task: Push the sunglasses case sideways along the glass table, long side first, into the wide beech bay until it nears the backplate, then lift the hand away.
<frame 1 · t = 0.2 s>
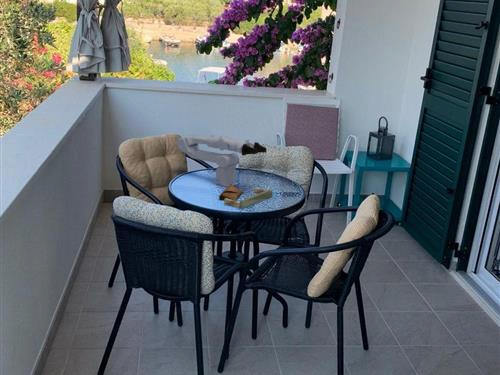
hand: (261, 151, 273), 21 cm above the table, tool horizontal, fingers open, 7 cm apart
sunglasses case: (231, 197, 272), on the table
dock: (247, 200, 267), on the table
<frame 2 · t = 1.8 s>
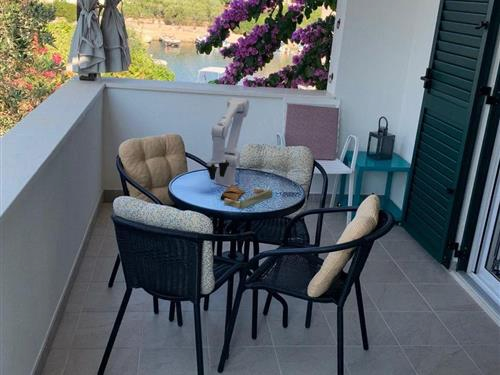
hand: (217, 178, 274), 7 cm above the table, tool pointing down, fingers open, 7 cm apart
nothing on the table moved.
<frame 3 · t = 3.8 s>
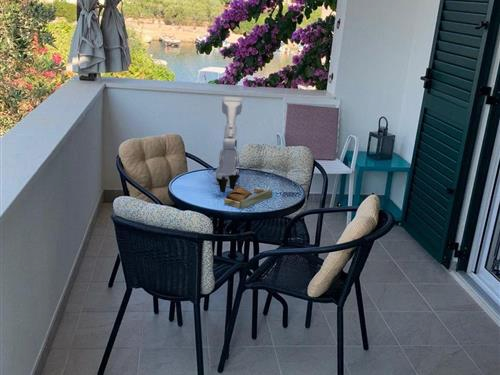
hand: (227, 190, 273), 2 cm above the table, tool pointing down, fingers open, 7 cm apart
sunglasses case: (239, 198, 271), on the table
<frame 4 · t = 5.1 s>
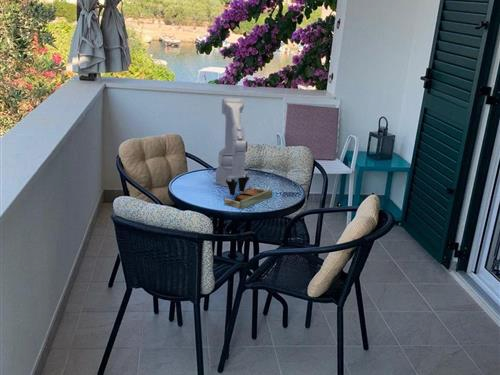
hand: (236, 193, 270), 2 cm above the table, tool pointing down, fingers open, 7 cm apart
sunglasses case: (249, 200, 270), on the table
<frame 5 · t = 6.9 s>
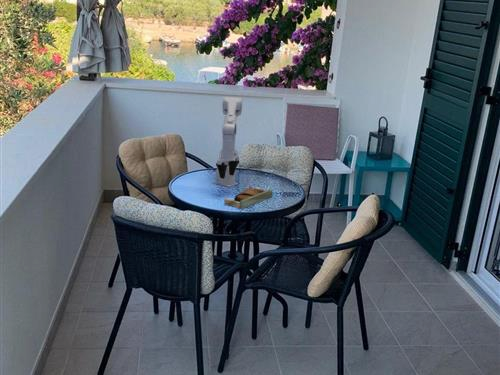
hand: (226, 176, 271), 9 cm above the table, tool pointing down, fingers open, 7 cm apart
sunglasses case: (249, 199, 270), on the table, touching dock
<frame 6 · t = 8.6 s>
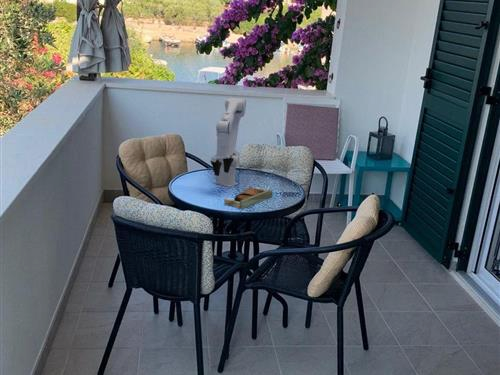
hand: (221, 173, 273), 9 cm above the table, tool pointing down, fingers open, 7 cm apart
sunglasses case: (249, 200, 270), on the table
at the end: sunglasses case 2.5 cm from the target spot on the dock, point -0.7 cm above the dock's base; sunglasses case tilted 0°; sunglasses case moved 9.1 cm from its start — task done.
